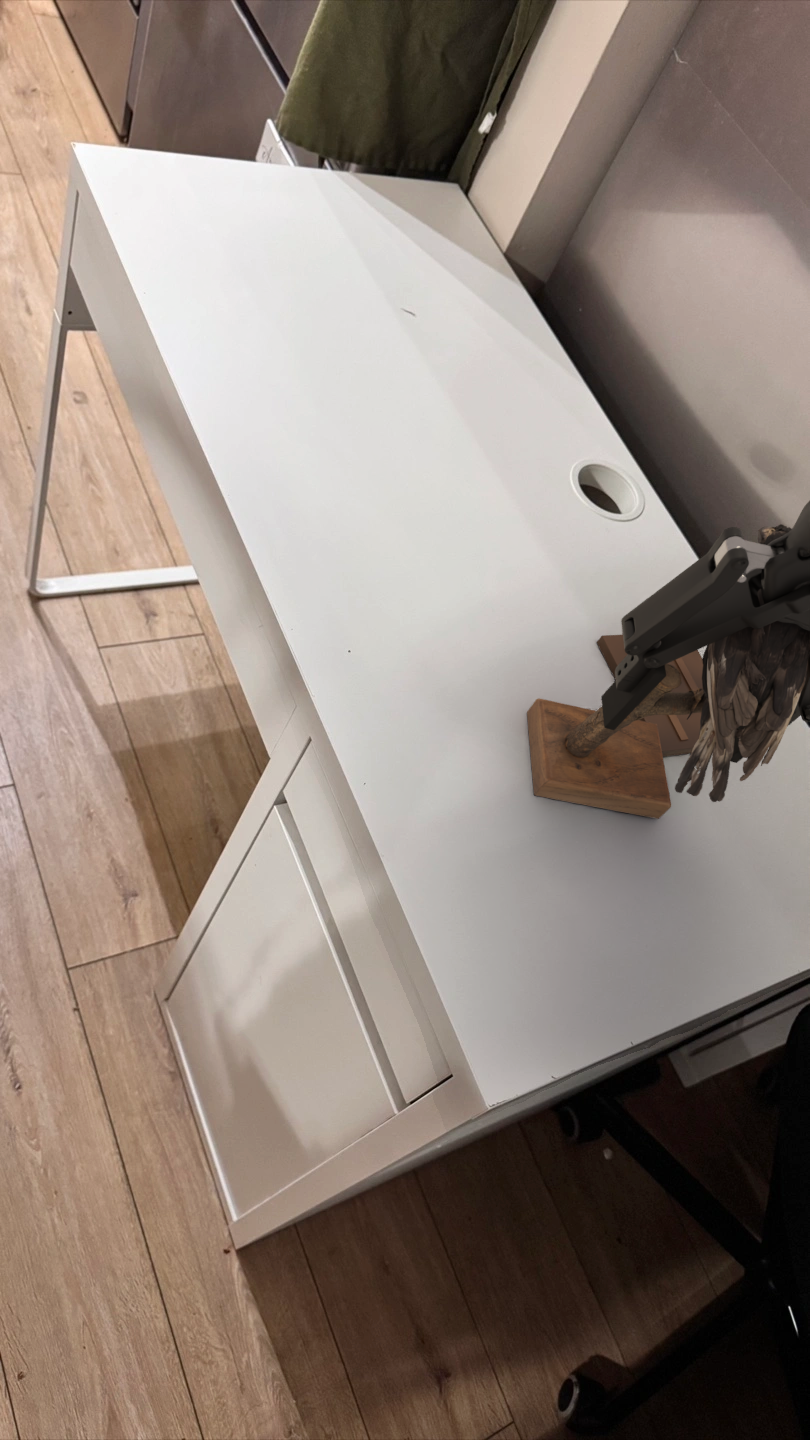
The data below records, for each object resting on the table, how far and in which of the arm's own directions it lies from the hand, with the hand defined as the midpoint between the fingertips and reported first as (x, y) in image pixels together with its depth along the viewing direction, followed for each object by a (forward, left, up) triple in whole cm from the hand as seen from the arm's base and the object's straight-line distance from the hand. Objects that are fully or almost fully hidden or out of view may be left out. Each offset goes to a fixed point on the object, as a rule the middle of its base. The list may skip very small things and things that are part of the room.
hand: (669, 730), depth 71 cm
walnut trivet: (+13, -8, -10) cm, 18 cm away
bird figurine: (0, 0, -10) cm, 10 cm away
